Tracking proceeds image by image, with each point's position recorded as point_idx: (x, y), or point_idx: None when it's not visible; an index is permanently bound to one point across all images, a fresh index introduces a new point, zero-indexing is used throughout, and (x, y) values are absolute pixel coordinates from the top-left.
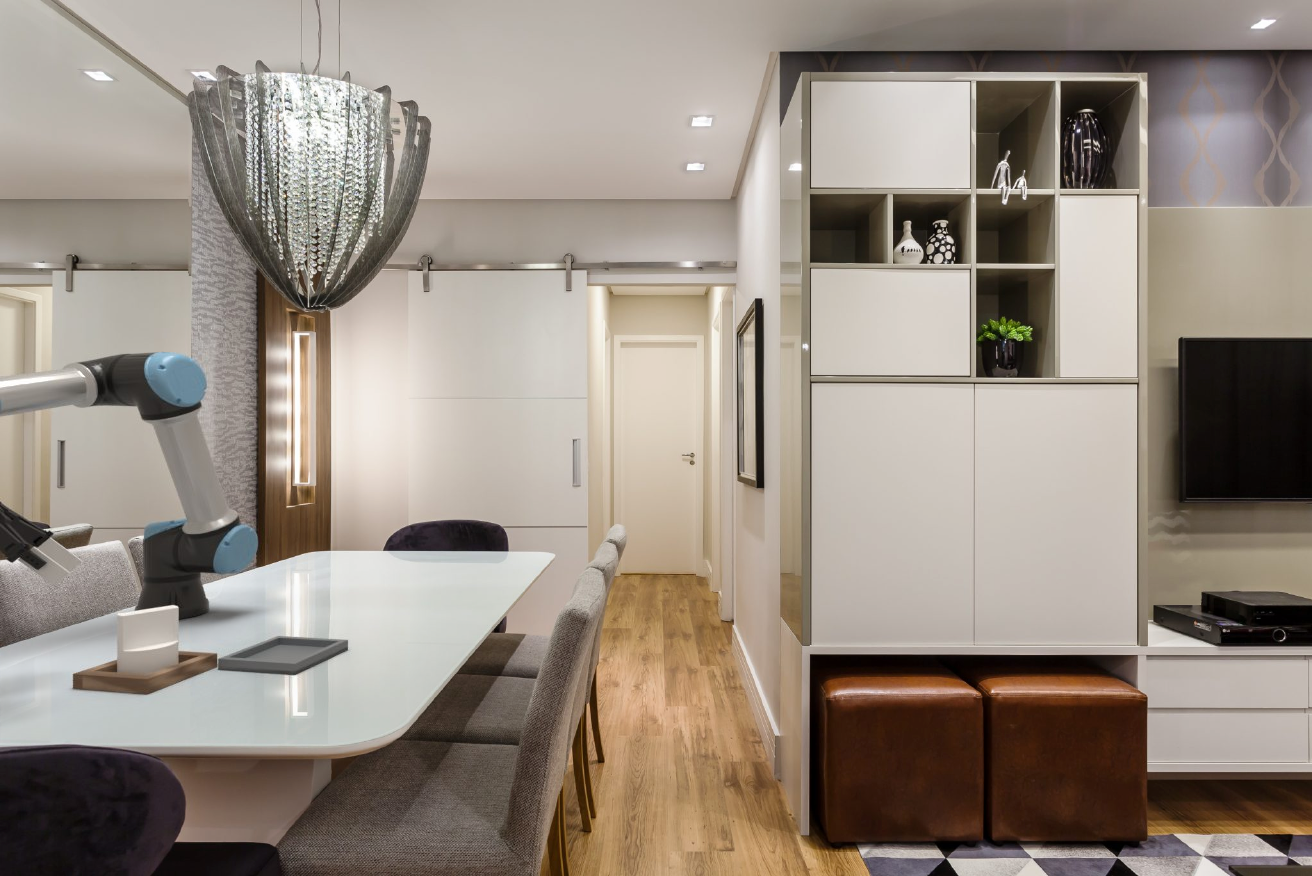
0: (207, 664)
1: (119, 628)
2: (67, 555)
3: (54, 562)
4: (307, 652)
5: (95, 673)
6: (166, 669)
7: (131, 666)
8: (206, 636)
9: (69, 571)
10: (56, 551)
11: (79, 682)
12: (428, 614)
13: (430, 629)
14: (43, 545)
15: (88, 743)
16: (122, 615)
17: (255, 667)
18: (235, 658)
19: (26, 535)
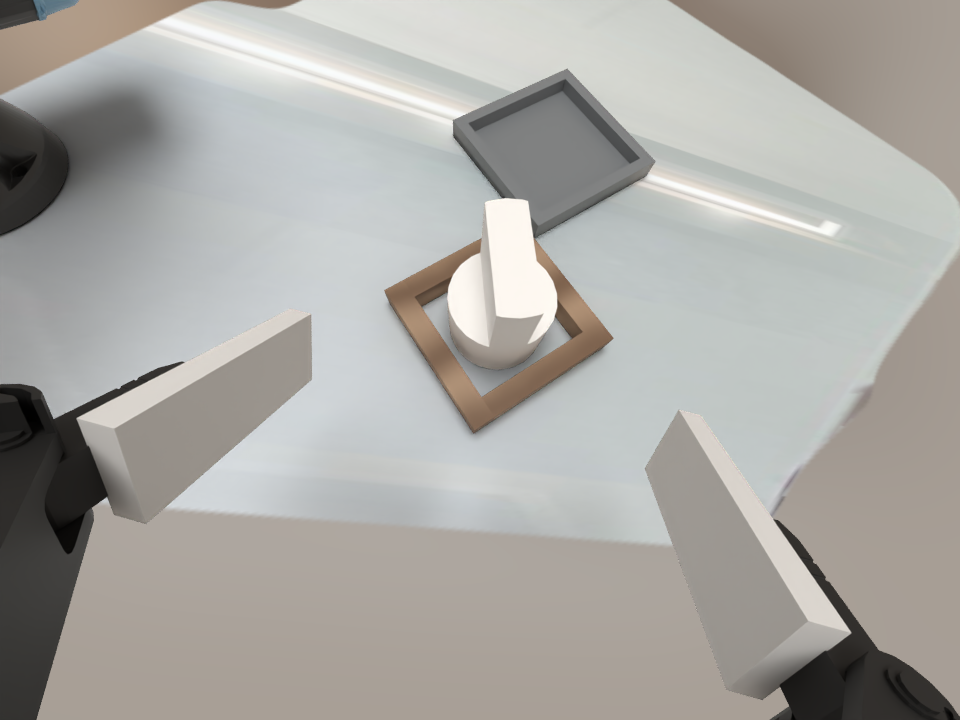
0: None
1: (523, 330)
2: (266, 359)
3: (741, 474)
4: (553, 125)
5: (504, 397)
6: (568, 302)
7: (537, 344)
8: (276, 189)
9: (310, 374)
10: (224, 404)
11: (487, 423)
12: None
13: None
14: (149, 474)
15: (803, 457)
16: (532, 311)
17: (594, 200)
18: (557, 207)
19: (24, 649)
